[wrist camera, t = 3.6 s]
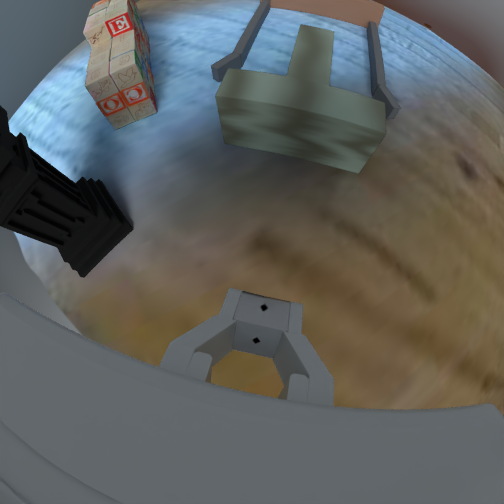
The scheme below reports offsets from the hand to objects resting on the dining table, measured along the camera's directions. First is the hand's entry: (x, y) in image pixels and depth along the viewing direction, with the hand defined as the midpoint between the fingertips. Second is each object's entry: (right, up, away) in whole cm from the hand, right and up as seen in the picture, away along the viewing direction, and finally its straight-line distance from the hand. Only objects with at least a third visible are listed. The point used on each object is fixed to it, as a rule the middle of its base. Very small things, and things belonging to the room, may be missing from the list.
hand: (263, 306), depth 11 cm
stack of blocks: (-18, +29, +21) cm, 40 cm away
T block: (+6, +20, +18) cm, 27 cm away
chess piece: (-18, +5, +16) cm, 25 cm away
